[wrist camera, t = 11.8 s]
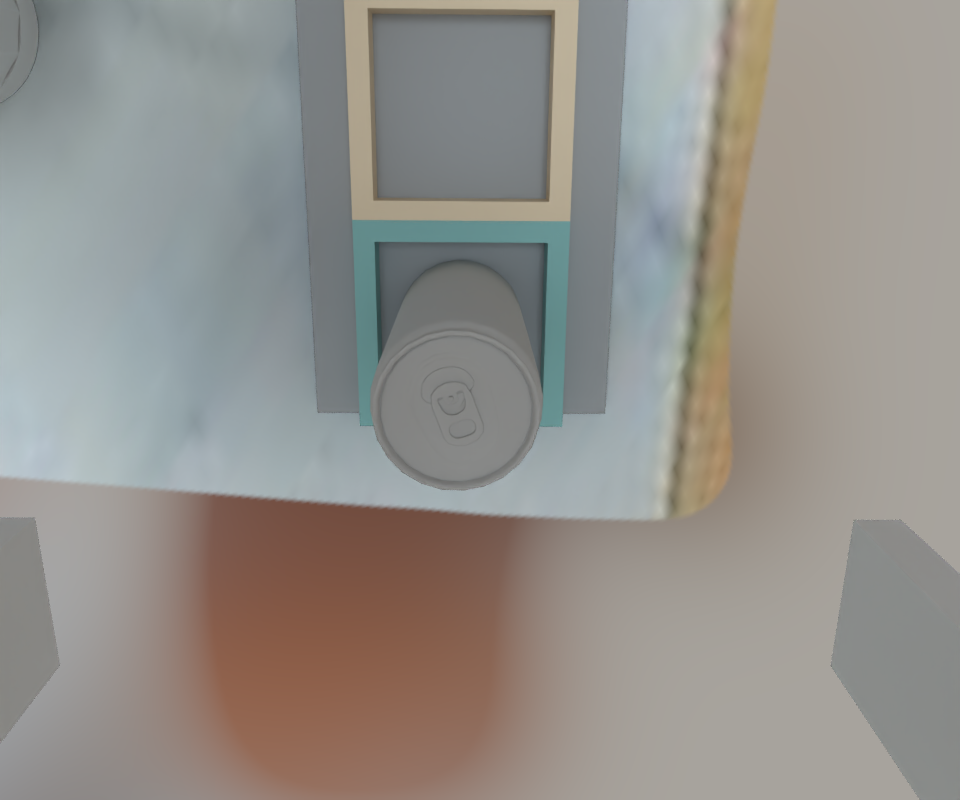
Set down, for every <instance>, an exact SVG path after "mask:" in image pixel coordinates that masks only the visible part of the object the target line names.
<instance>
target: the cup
mask: <svg viewBox="0 0 960 800" xmlns="http://www.w3.org/2000/svg"><path fill="white" fill-rule="evenodd" d="M38 38H39V32H38V21H37V15H36V11H35V7H34V4H33V1H32V0H0V103H1V102H3V101H4V100H6V99H7V98H9V97H10V96H12V95H13V94H14V93H15V92H16V91H17V90H18V89H19V88H20V87H21V86H22V84H23V83H24V82H25V80H26V79H27V77H28V76H29V74H30V72H31V70H32V67H33V65H34V62H35V58H36V54H37V49H38Z"/></svg>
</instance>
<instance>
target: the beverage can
mask: <svg viewBox="0 0 960 800" xmlns="http://www.w3.org/2000/svg"><path fill="white" fill-rule="evenodd" d="M542 406H543V393H542V388H541V383H540V378H539V373H538V369H537V366H536V362H535V359H534V355H533V351H532V348H531V344H530V341H529V337H528V333H527V330H526V327H525V323H524V320H523V316H522V313H521V309H520V306H519V302H518V299H517V297H516V295H515V293H514V291H513V289H512V287H511V286H510V285H509V283H508V282H507V281H506V280H505V279H504V278H503V277H502V276H501V275H500V274H499V273H497V272H496V271H494V270H493V269H491V268H490V267H488V266H486V265H483V264H480V263H477V262H473V261H462V260H454V261H449V262H445V263H440V264H438V265H436V266H434V267H432V268H430V269H428V270H426V271H425V272H424V273H423V274H422V275H420V276H419V277H418V278H417V279H416V280H415V281H414V282H413V284H412V285H411V287H410V288H409V290H408V292H407V293H406V295H405V297H404V300H403V302H402V305H401V307H400V310H399V312H398V315H397V317H396V320H395V323H394V325H393V328H392V330H391V333H390V335H389V338H388V340H387V343H386V345H385V348H384V351H383V353H382V356H381V358H380V361H379V363H378V366H377V369H376V372H375V375H374V379H373V382H372V385H371V391H370V412H371V416H372V421H373V425H374V429H375V433H376V437H377V440H378V442H379V443H380V445H381V447H382V448H383V450H384V452H385V454H386V455H387V457H388V458H389V459H390V460H391V461H392V462H393V463H394V464H395V465H396V466H397V467H398V468H399V469H400V470H401V471H402V472H403V473H404V474H406V475H408V476H409V477H411V478H413V479H415V480H416V481H418V482H420V483H422V484H425V485H428V486H432V487H435V488H438V489H442V490H468V489H473V488H478V487H483V486H486V485H488V484H490V483H492V482H494V481H496V480H499V479H501V478H503V477H504V476H505V475H507V474H508V473H509V472H510V471H512V470H513V469H514V468H515V467H516V466H518V465H519V464H520V463H521V461H522V460H523V458H524V457H525V456H526V454H527V453H528V451H529V450H530V449H531V447H532V445H533V442H534V439H535V437H536V434H537V431H538V429H539V425H540V422H541V419H542Z"/></svg>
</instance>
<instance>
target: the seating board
mask: <svg viewBox="0 0 960 800" xmlns="http://www.w3.org/2000/svg"><path fill="white" fill-rule="evenodd" d="M627 8H628V0H296V18H297V37H298V56H299V74H300V93H301V112H302V130H303V149H304V168H305V186H306V205H307V224H308V242H309V261H310V280H311V298H312V317H313V336H314V354H315V373H316V392H317V410H318V413H360V426H374V425H373V421H372V416H371V412H370V391H371V385H372V382H373V379H374V375H375V372H376V369H377V366H378V363H379V361H380V358H381V356H382V353H383V351H384V348H385V345H386V343H387V340H388V338H389V335H390V333H391V330H392V328H393V325H394V323H395V320H396V317H397V315H398V312H399V310H400V307H401V305H402V302H403V300H404V297H405V295H406V293H407V292H408V290H409V288H410V287H411V285H412V284H413V282H414V281H415V280H416V279H417V278H418V277H419V276H420V275H422V274H423V273H424V272H425V271H426V270H428V269H430V268H432V267H434V266H436V265H438V264H440V263H445V262H449V261H454V260H462V261H473V262H477V263H480V264H483V265H486V266H488V267H490V268H491V269H493V270H494V271H496V272H497V273H499V274H500V275H501V276H502V277H503V278H504V279H505V280H506V281H507V282H508V283H509V285H510V286H511V287H512V289H513V291H514V293H515V295H516V297H517V299H518V302H519V306H520V309H521V313H522V316H523V320H524V323H525V327H526V330H527V333H528V337H529V341H530V344H531V348H532V351H533V355H534V359H535V362H536V366H537V369H538V373H539V378H540V383H541V388H542V393H543V406H542V419H541V422H540V425H539V427H562V418H563V414H605V407H606V389H607V370H608V352H609V334H610V316H611V298H612V280H613V262H614V244H615V225H616V207H617V189H618V171H619V153H620V135H621V117H622V99H623V81H624V62H625V44H626V26H627Z"/></svg>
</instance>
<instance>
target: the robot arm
mask: <svg viewBox="0 0 960 800" xmlns="http://www.w3.org/2000/svg"><path fill="white" fill-rule="evenodd" d="M59 666H60V663H59V657H58V651H57V646H56V639H55V633H54V628H53V621H52V615H51V610H50V604H49V598H48V592H47V586H46V580H45V574H44V568H43V562H42V557H41V551H40V545H39V539H38V533H37V527H36V521H35V518H0V743H1V742H2V741H3V739H4V738H5V737H6V735H7V734H8V733H9V731H10V730H11V729H12V727H13V726H14V725H15V724H16V722H17V721H18V720H19V718H20V717H21V716H22V714H23V713H24V712H25V710H26V709H27V708H28V706H29V705H30V704H31V703H32V701H33V700H34V699H35V697H36V696H37V695H38V694H39V692H40V691H41V690H42V688H43V687H44V686H45V684H46V683H47V682H48V680H49V679H50V678H51V677H52V675H53V674H54V673H55V671H56V670H57V669H58V667H59ZM831 667H832V669H833V670H834V672H835V673H836V675H837V676H838V678H839V679H840V680H841V682H842V684H843V685H844V687H845V688H846V690H847V691H848V693H849V694H850V696H851V697H852V699H853V700H854V702H855V703H856V705H857V706H858V708H859V709H860V711H861V712H862V714H863V715H864V717H865V718H866V720H867V721H868V723H869V724H870V726H871V727H872V729H873V730H874V732H875V733H876V735H877V736H878V738H879V739H880V741H881V742H882V744H883V745H884V747H885V748H886V750H887V751H888V753H889V754H890V756H891V757H892V759H893V760H894V762H895V763H896V765H897V766H898V768H899V769H900V771H901V772H902V774H903V776H904V777H905V778H906V780H907V782H908V783H909V784H910V786H911V787H912V789H913V790H914V792H915V794H916V795H917V797H918V798H919V799H920V800H960V574H959V573H958V572H957V571H956V570H955V569H954V568H953V567H952V566H951V565H950V564H948V563H947V562H946V561H945V560H944V559H943V558H942V557H941V556H940V555H939V554H938V553H937V552H935V551H934V550H933V549H932V548H931V547H930V546H929V545H928V544H927V543H926V542H925V541H923V540H922V539H921V538H920V537H919V536H918V535H917V534H916V533H915V532H914V531H912V530H911V529H910V528H909V527H908V526H907V525H906V524H905V523H904V522H902V521H901V520H854V522H853V529H852V535H851V541H850V547H849V553H848V560H847V566H846V573H845V579H844V585H843V592H842V598H841V604H840V610H839V617H838V623H837V629H836V636H835V642H834V649H833V655H832V661H831Z"/></svg>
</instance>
